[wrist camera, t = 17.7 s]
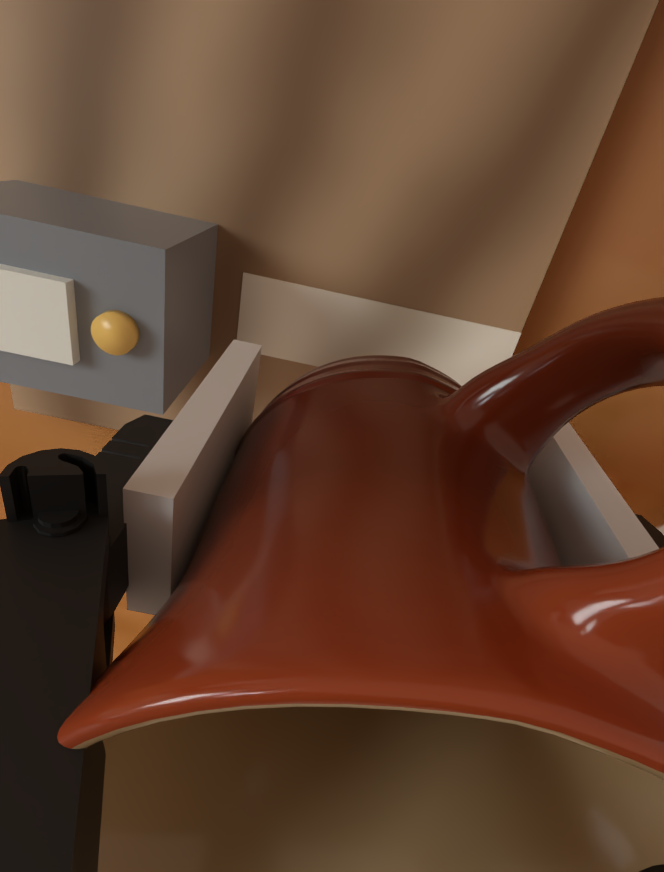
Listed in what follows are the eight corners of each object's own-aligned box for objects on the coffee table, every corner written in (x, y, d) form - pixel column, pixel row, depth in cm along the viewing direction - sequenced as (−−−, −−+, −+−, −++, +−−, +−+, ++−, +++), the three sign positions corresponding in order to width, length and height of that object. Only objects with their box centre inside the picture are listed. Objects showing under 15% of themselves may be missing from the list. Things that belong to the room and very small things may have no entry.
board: (-33, 384, 22) (-53, 395, 21) (-366, -1141, 8) (-482, -1343, 7) (448, 482, 23) (452, 498, 22) (937, -731, 9) (1016, -855, 8)
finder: (34, 319, 19) (-73, 374, 14) (16, 179, 17) (-122, 191, 12) (209, 356, 19) (158, 421, 15) (218, 224, 17) (159, 252, 12)
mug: (393, 599, 18) (408, 1050, 9) (180, 474, 16) (-83, 895, 7) (695, 348, 12) (1540, 850, 3) (432, 107, 10) (807, -249, 1)
